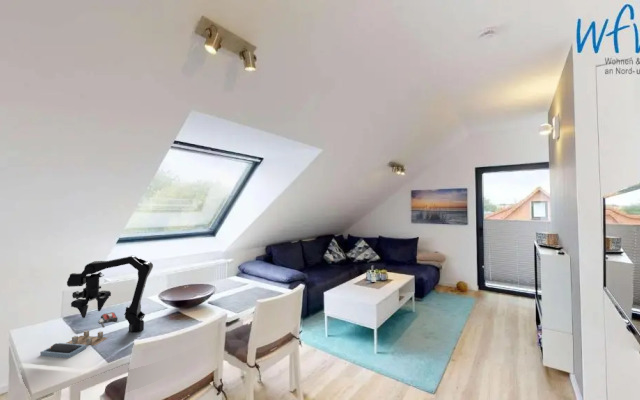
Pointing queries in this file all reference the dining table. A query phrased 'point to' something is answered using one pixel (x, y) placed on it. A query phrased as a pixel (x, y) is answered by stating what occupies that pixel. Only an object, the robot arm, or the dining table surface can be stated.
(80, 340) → the block
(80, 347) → the tray
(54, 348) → the tan-capped grey cylinder
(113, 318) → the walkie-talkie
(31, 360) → the dining table surface
